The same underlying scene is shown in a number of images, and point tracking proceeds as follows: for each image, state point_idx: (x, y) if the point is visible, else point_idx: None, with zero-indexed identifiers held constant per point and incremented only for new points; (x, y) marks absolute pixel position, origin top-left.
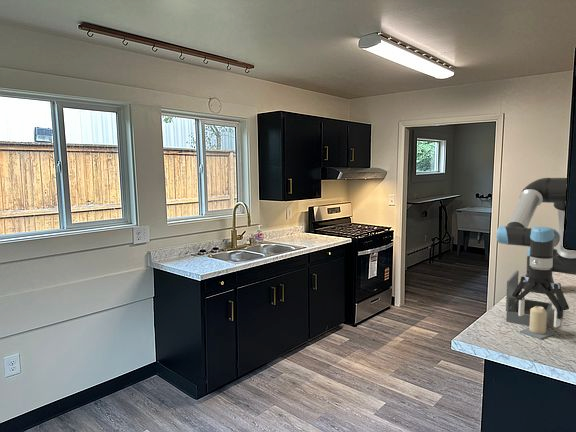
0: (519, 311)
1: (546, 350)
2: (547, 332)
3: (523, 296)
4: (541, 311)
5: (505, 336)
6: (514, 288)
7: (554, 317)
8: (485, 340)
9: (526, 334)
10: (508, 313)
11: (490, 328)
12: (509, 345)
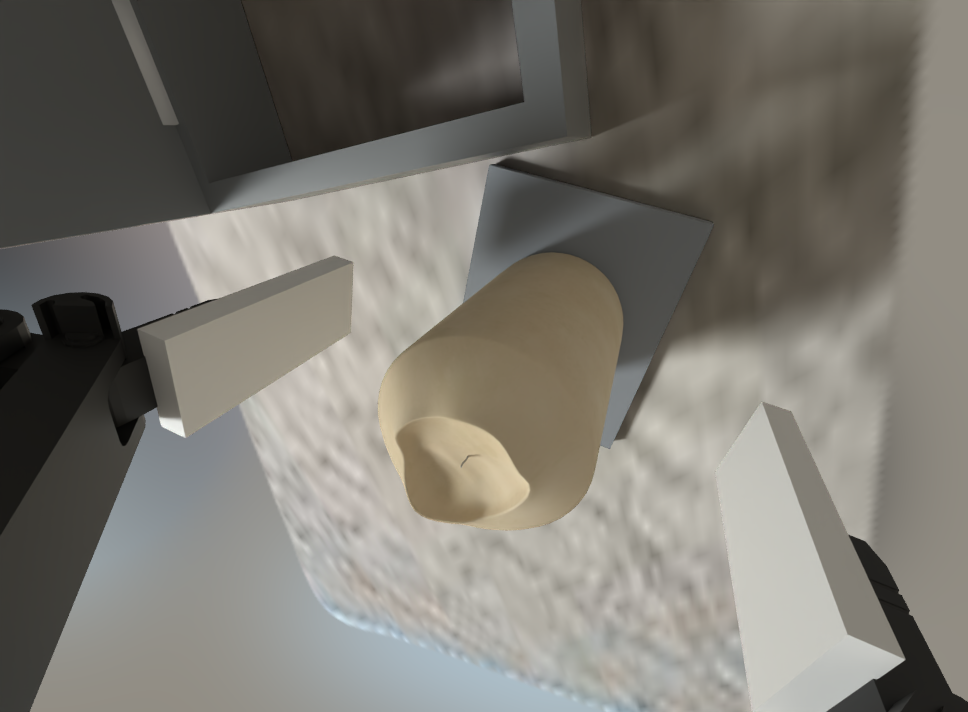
0: (307, 352)
1: (681, 594)
2: (635, 283)
3: (107, 428)
4: (533, 526)
5: None
6: None
7: (736, 575)
8: (386, 574)
9: None
10: (232, 209)
11: (311, 410)
12: (489, 592)
